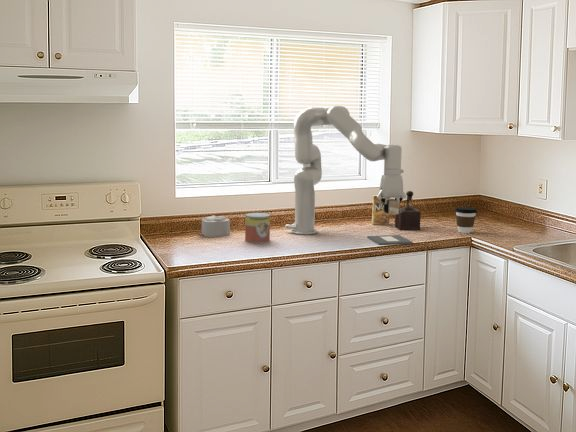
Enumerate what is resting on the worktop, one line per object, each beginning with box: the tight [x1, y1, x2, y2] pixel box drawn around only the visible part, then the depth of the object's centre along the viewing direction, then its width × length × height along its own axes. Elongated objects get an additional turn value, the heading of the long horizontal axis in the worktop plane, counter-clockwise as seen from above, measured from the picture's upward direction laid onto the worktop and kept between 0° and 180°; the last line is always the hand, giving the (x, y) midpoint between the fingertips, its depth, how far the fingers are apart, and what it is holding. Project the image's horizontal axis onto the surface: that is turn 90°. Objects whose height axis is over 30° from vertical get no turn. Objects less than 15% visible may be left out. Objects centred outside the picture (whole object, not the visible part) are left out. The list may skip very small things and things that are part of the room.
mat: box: [366, 234, 414, 246], centre depth 300 cm, size 16×16×1 cm
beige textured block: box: [388, 198, 400, 215], centre depth 298 cm, size 8×4×6 cm, turn 13°
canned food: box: [244, 212, 271, 244], centre depth 296 cm, size 11×11×12 cm
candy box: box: [371, 194, 391, 226], centre depth 340 cm, size 9×4×15 cm, turn 87°
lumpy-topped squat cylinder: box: [201, 214, 231, 238], centre depth 309 cm, size 10×13×9 cm
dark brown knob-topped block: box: [394, 190, 422, 231], centre depth 332 cm, size 16×11×18 cm
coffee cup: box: [454, 206, 478, 234], centre depth 322 cm, size 11×11×12 cm
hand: (390, 211), depth 298 cm, fingers closed on beige textured block, 4 cm apart
